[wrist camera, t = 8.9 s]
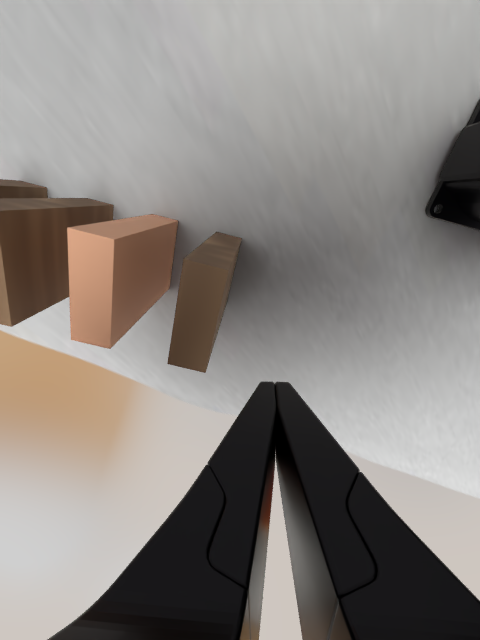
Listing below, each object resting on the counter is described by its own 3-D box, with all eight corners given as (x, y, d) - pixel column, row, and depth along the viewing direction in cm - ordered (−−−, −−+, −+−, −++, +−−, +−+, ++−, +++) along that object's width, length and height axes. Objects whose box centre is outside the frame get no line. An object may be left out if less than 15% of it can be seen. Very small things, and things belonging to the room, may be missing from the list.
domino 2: (146, 282, 20) (71, 339, 12) (152, 214, 18) (67, 227, 10) (169, 288, 21) (110, 349, 12) (178, 220, 18) (114, 239, 10)
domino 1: (113, 204, 18) (-5, 211, 10) (110, 274, 20) (11, 326, 12) (86, 198, 18) (-53, 198, 10) (87, 269, 20) (-29, 317, 12)
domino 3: (241, 238, 19) (228, 270, 10) (226, 303, 21) (205, 372, 13) (216, 231, 19) (183, 258, 10) (203, 297, 21) (167, 363, 12)
